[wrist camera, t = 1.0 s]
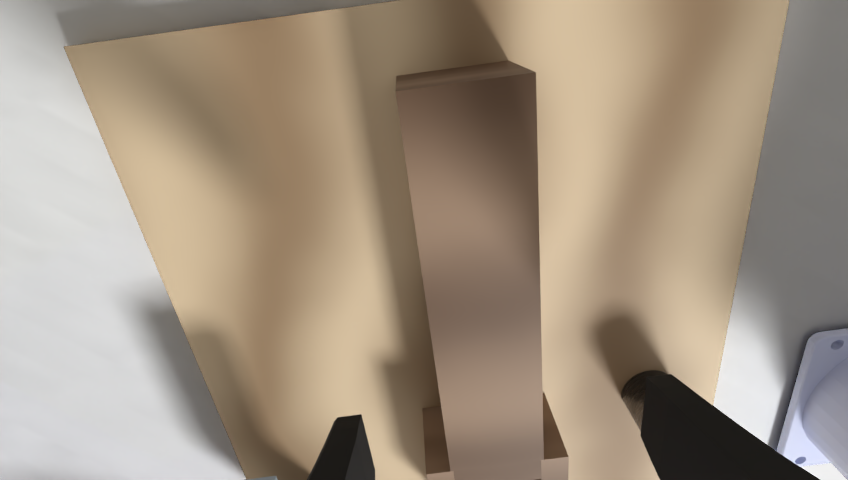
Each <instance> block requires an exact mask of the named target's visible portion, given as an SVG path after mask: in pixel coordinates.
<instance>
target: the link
mask: <svg viewBox="0 0 848 480" xmlns="http://www.w3.org/2000/svg"><path fill="white" fill-rule="evenodd" d="M395 92H396V99H397V106H398V113H399V120H400V127H401V133H402V140H403V147H404V154H405V161H406V168H407V175H408V182H409V188H410V195H411V202H412V209H413V216H414V223H415V230H416V237H417V244H418V250H419V257H420V264H421V271H422V278H423V285H424V292H425V299H426V305H427V312H428V319H429V326H430V333H431V340H432V347H433V354H434V360H435V367H436V374H437V381H438V388H439V395H440V402H441V406H437V407H429V408H422V411H423V429H424V447H425V465H426V477H427V480H568V468H569V456H568V454H567V451H566V448H565V446H564V443H563V441H562V438H561V435H560V433H559V430H558V427H557V425H556V422H555V419H554V417H553V414H552V412H551V409H550V406H549V404H548V401H547V398H546V396H545V393H543V392H542V343H541V294H540V244H539V195H538V146H537V97H536V72H534V71H532V70H530V69H527V68H525V67H523V66H520V65H518V64H516V63H513V62H511V61H509V60H508V61H501V62H494V63H486V64H479V65H472V66H464V67H457V68H450V69H442V70H435V71H428V72H420V73H413V74H406V75H398V76H396V90H395Z"/></svg>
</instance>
